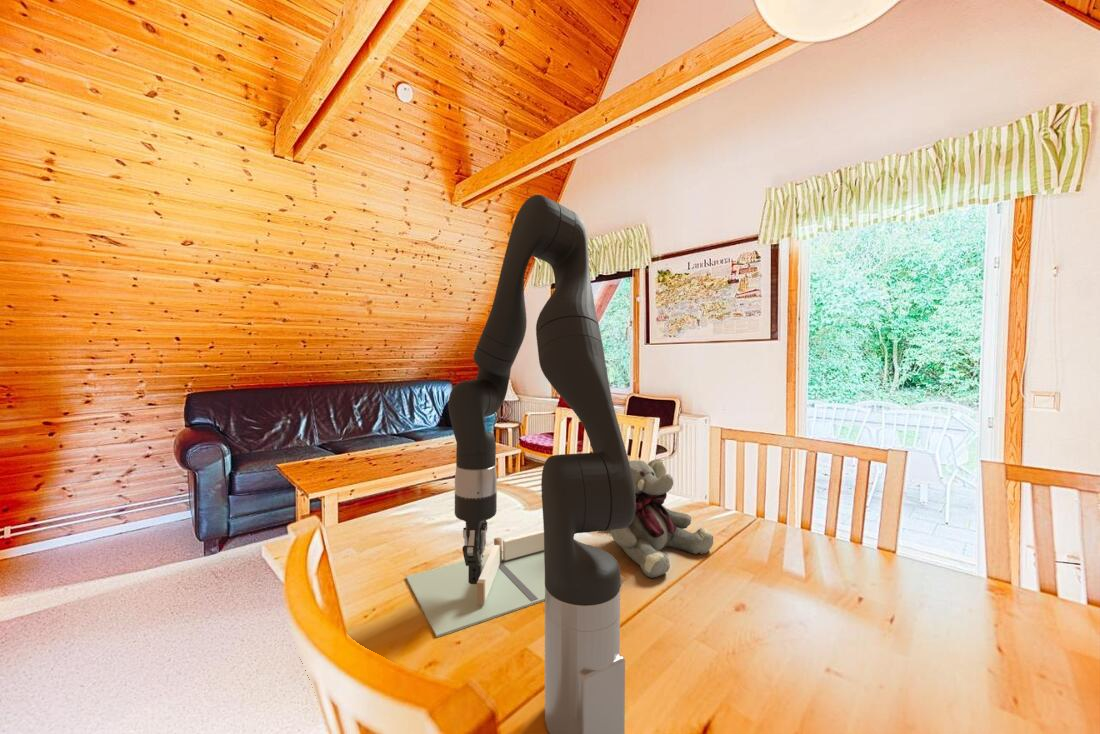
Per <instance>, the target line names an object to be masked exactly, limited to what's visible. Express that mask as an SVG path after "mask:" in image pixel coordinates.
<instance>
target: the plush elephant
mask: <svg viewBox="0 0 1100 734" xmlns="http://www.w3.org/2000/svg"><path fill="white" fill-rule="evenodd" d="M629 464H630V468H631V472H632V477H633V482H634V488H635V496H636V510H635V516H634V519H633V522H632V523H631V524H630V525H629V526H628V527H626V528H623V529H616V530H609V531H610V535H611V538H612V539H613V541H614V542H615V543H616V544H617V545H618V547H620V548H621V549H622V550H623V551H624V553H625V554H626V555H627V556H628V557H629V558H630V559H631V560H632V561H633V562H635V563H636V564H637V565H639V567H640V568H641V570H642V571H641V572H643V573H644V575H645V576H646V577H647V578H652V579H653V578H658V577H660V576H662V575H664V574H666V573H668V571H669V570H670V567H671V563H670V558H669V557H668V556H667V555H666V553H664V552H662V551H661V550H662V549H663V548H668V547H669V548H674V549H677V550H678V549H679V550H682V551H683V550H684V551H685V552H687V553H689V554H690V553H691V554H693V555H697V554H698V553H702V554H701V555H704V554H703V553H705V554H706V553H708V552H709V551H710V549H712V547H713V545H714V536H713V534H712V532H711V531H710V530H709V529H707V528H705V527H700V528H699V529H697V530H696V531H695V532H690V531H689V530H687V528H688V527H689V526H690V525H691V524H692V523H691V522H692V517H691V515H689V514H688V513H683V512H678V511H674V510H671V509H669V508H667V507H665V506H664V505H663V504H665V500H666V499H667V496H668V494H667V493H668V492H670V491H671V490H672V488H673V486H674V479H673V477H672V475H671V474H669V473H667V468H666V465H664V461H663V459H661V458H655V459H653V460H650V461H649V462H648V463H647V462H645V461H644V460H639V459H638V460H634V459H633V460H629ZM698 555H699V554H698Z"/></svg>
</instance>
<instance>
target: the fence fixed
mask: <svg viewBox="0 0 1100 734" xmlns="http://www.w3.org/2000/svg"><path fill="white" fill-rule="evenodd" d="M494 545H500V564H501V563H502V551H503V559H504V560H509V559H513V558H516V557H520V556H524V555H527V554H531V553H534V552H538V551H542V550H544V529H540V530H537V531H534V532H528V533H525V534H522V535H517V536H514V537H509V538H506V539H502V537H495V538H493V546H494Z"/></svg>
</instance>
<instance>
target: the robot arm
mask: <svg viewBox="0 0 1100 734" xmlns="http://www.w3.org/2000/svg"><path fill="white" fill-rule="evenodd" d="M503 257H504V258H503V261H502V265H501V270H500V273H499V277H498V282H497V287H496V290H495V295H494V298H493V302H492V305H491V308H490V312H489V315H488V317H487V320H486V323H485V325H484V327H483V329H482V333H481V334H480V338H479V340H478V342H477V345H476V347H475V350H474V354H473V362H474V363H475V365H476V366H477V367H478V371H477V375H476V377H475V379H469V380H462V381H460V382H458V383H457V384H455V385H454V386H453V388H452V389H451V391H450V393H449V396H448V397H449V398H448V404H447V405H448V406H447V407H448V414H449V419H450V422H451V427H452V432H453V435H454V438H455V441H456V442H455V443H456V452H455V455H456V461H455V462H456V463H455V474H454V515H455V517H456V518H457V519H458V520H460V521H463V522H465V525H464V527H463V528H462V529H463V530H462V538H463V540H464V545H463V547H462V551H461V552H462V555H463V559H464V560H463V561H465V564H466V566H469V580H468V582H469V584H477V581H478V579H479V577H480V575H481V573H482V560H483V557H484V556H485V555H484V552H485V550H486V544H487V531H488V525H489V523H488V521H487V520H490V519H492V518H494V517H495V515H497V514H496V513H497V508H498V505H497V502H498V501H497V499H498V498H497V497H498V496H497V494H498V493H497V491H498V490H497V489H498V487H497V486H498V483H497V482H498V477H497V476H498V475H497V465H496V464H497V463H496V459H497V453H496V452H497V448H496V447H497V445H496V444H497V442H496V438H495V435H494V434H493V432H490V431H487V430H486V427H485V421H484V420H485V419H484V418H486V417H489V416H492V415H494V414H495V413H497V412H498V411H499V410H500V408H501V407H502V406H503V404H504V401H505V399H506V395H507V393H508V387H509V381H510V378H511V369H512V367H513V365H514V363H515V360H516V358H517V356H518V353H519V352H520V349H521V346H522V344H523V341H524V340H525V337H526V330H527V323H528V322H527V310H526V309H527V308H526V299H525V277H526V271H527V268H528V265H529V262H530V260H531V258H532V257H534V258H537V259H538V260H541V261H542V262H544V263H547V264H549V265H550V266H551V269H552V272H553V277H554V287H555V288H554V290H553V292H552V294H550V295H551V296H549V298H548V299H547V301H546V303H545V304H544V306H543V307H542V309H541V310H540V312H539V315H538V317H537V320H536V324H535V335H536V344H537V345H536V346H537V352H538V353H537V354H538V355H537V356H538V361H539V362H538V363H539V366H540V368H541V372H542V373H543V375H544V377H545V379H546V380H547V382H548V383H549V384H550V386H551V387H552V388H553V389H554V390H555V392H557V394H558V395H559V396H560V398H561V399H563V401H564V402H565V403H566V404H567V405H568V406H569V407H570V408H571V410H572V411H573V412H574V413H575V415H576V417H577V418H578V420H579V421H580V423H581V424H582V426H583V428H584V430H585V432H586V435H587V437H588V440H589V444H590V446H591V450H592V452H584V453H565V454H563V453H562V454H555V455H551V456H549V457H548V458H547V459H546V460H545V462H544V464H543V467H542V471H541V482H540V483H541V484H540V485H541V489H540V490H541V506H542V519H543V522H542V523H543V530H544V563H545V601H544V721H545V726H546V728H547V731H548V733H549V734H626V733H625V732H626V731H625V730H626V728H625V727H626V726H625V725H626V723H625V722H626V720H625V718H626V716H625V715H626V714H625V712H626V711H625V709H626V708H625V707H626V705H625V704H626V659H625V658H624V656H623V655H621V654H620V653H621V645H620V644H621V587H620V575H621V568H620V565H619V562H618V561H617V559H616V558H615V557H614V556H613V555H612V554H611V553H609V552H608V551H606V550H605V549H602V548H600V547H597V546H593V545H589V544H586V543H583V542H580V541H579V540H577V539H575V534H582V533H595V532H596V533H597V532H606V531H610V530H616V529H623V528H626V527H628V526H629V525H630V524H631V523H632V522H633V519H634V516H635V510H636V496H635V488H634V482H633V477H632V472H631V468H630V464H629V461H630V460H629V457H628V454H627V450H626V447H625V443H624V440H623V435H622V432H621V429H620V425H619V421H618V417H617V413H616V410H615V406H614V402H613V399H612V398H613V396H612V392H611V388H610V382H609V376H608V371H607V365H606V364H607V363H606V358H605V351H604V345H603V339H602V334H601V329H600V325H599V320H598V316H597V312H596V307H595V302H594V301H595V299H594V294H593V289H592V288H593V287H592V280H591V274H590V262H589V242H588V235H587V229H586V224H585V222H584V220H583V219H582V217H581V216H580V215H579V214H577V213H576V212H574V211H573V210H571V209H569V208H567V207H566V206H564V205H562V204H560V203H559V202H556V201H554V200H552V199H551V198H549V197H547V196H546V195H542V194H534V195H531V196H530V197H528V198H527V199H526V200H525V201H524V202H523V204H522V205H521V206H520V208H519V211H518V212H517V213H516V216H515V219H514V221H513V224H512V228H511V231H510V234H509V239H508V242H507V246H506V250H505V252H504V256H503Z"/></svg>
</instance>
